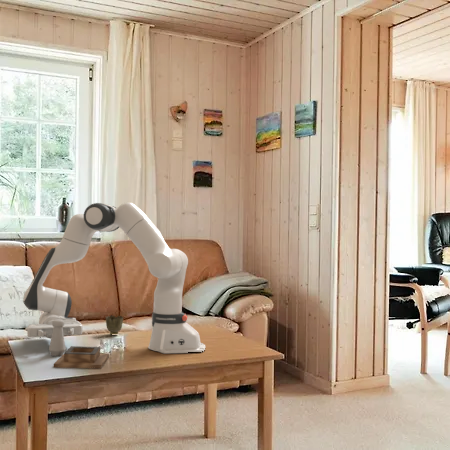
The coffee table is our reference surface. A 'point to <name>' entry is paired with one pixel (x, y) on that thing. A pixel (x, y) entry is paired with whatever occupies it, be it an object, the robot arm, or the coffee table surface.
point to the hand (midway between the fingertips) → (57, 333)
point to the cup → (114, 324)
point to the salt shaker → (57, 338)
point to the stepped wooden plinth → (82, 358)
